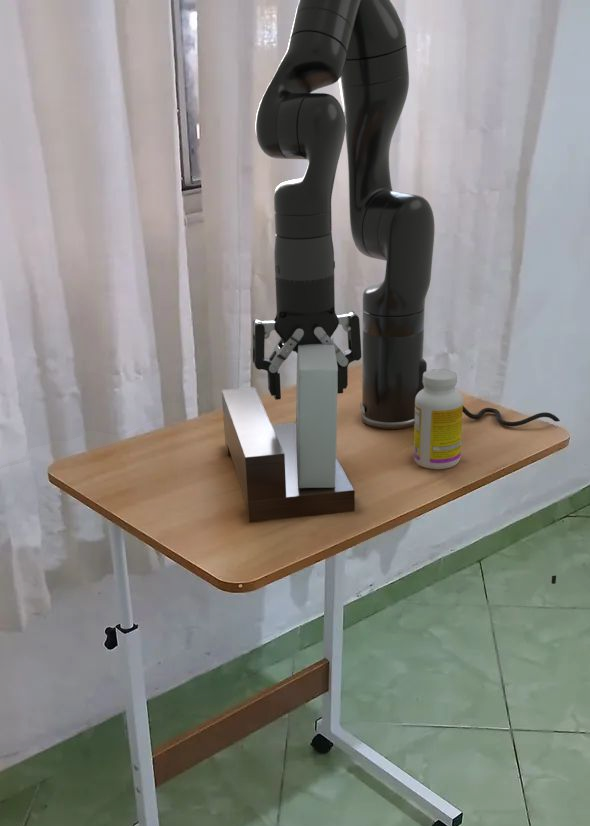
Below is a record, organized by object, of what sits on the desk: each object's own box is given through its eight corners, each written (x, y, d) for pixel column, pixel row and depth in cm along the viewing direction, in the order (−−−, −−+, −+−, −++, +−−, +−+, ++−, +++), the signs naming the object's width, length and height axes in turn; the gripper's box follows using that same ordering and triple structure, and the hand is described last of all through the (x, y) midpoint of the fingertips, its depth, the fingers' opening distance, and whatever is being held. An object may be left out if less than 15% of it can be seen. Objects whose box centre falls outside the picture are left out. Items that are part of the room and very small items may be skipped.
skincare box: (339, 489, 133) (338, 369, 125) (297, 490, 133) (293, 370, 125) (333, 429, 151) (331, 320, 142) (296, 430, 151) (292, 322, 142)
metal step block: (316, 438, 156) (315, 381, 151) (354, 511, 135) (354, 446, 130) (225, 447, 154) (221, 389, 149) (249, 522, 133) (245, 457, 128)
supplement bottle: (469, 460, 147) (474, 372, 140) (441, 475, 143) (445, 385, 136) (431, 449, 151) (435, 363, 144) (403, 463, 147) (406, 375, 140)
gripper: (352, 260, 134) (353, 381, 143) (244, 268, 132) (252, 390, 141) (366, 273, 128) (365, 399, 136) (253, 282, 126) (260, 409, 135)
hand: (308, 394), depth 139 cm, fingers open, 8 cm apart
